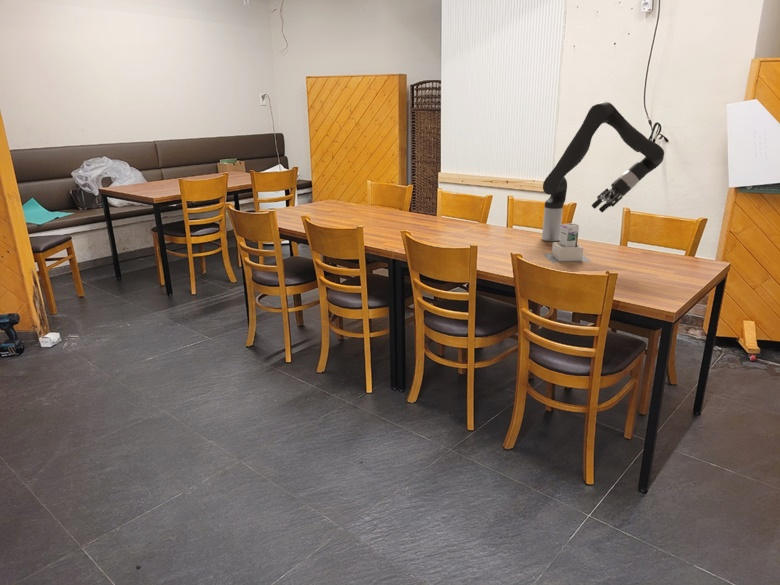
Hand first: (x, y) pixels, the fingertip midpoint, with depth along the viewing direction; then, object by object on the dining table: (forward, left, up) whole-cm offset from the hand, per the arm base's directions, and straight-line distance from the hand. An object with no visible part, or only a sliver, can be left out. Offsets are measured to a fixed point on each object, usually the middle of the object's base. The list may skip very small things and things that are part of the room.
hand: (596, 209), depth 247 cm
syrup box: (+2, -12, -21) cm, 24 cm away
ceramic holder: (+2, -12, -22) cm, 25 cm away
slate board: (+2, -12, -23) cm, 27 cm away
